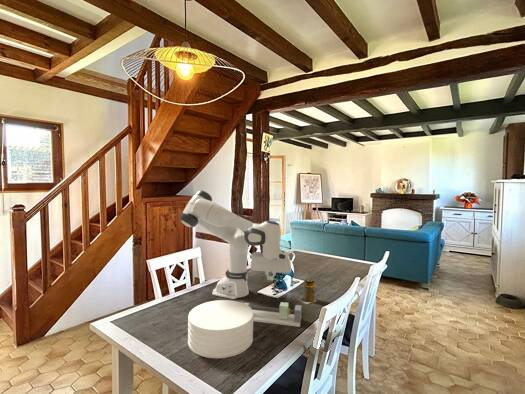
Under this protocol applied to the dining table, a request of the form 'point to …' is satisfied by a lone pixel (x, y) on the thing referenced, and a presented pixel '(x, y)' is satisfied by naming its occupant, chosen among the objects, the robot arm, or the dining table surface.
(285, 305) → the pale green block
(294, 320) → the white slider rail
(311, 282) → the condiment
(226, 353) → the plate stack
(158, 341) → the dining table surface
